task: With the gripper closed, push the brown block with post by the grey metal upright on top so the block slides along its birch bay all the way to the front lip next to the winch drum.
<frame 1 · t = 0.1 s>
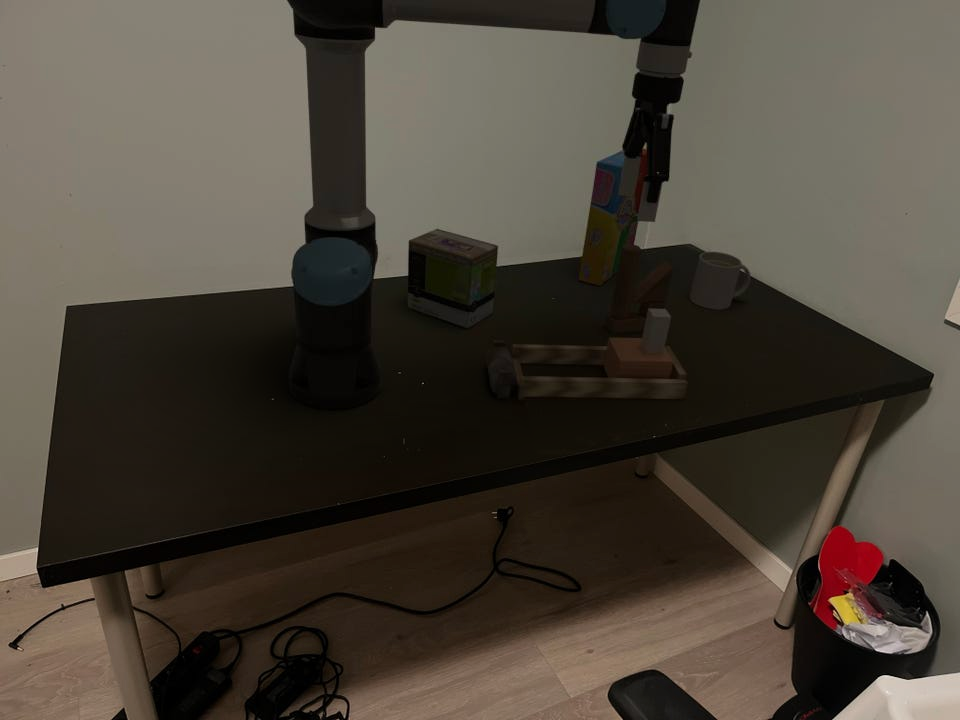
hand: (635, 207, 120), 28 cm above the table, fingers open, 13 cm apart
brown block with post: (640, 346, 121), point 7 cm above the table, slide at 0.0 cm
game box: (605, 271, 169), on the table
tea box: (450, 311, 145), on the table
mug: (714, 302, 157), on the table
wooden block: (631, 332, 142), on the table
bay: (593, 382, 124), on the table
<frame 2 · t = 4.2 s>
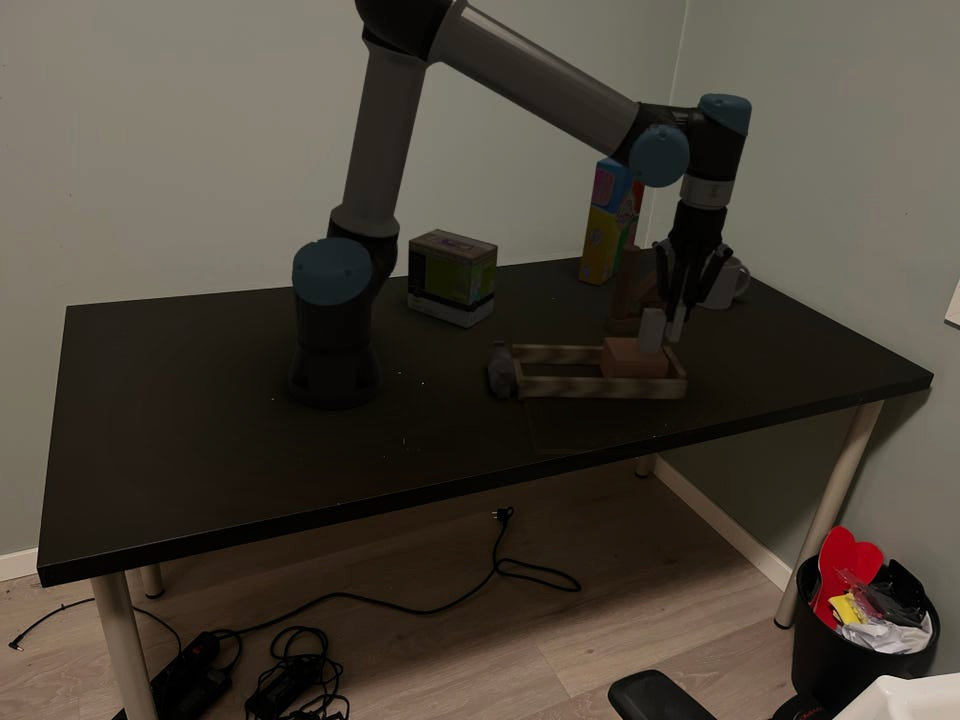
hand: (671, 338, 120), 9 cm above the table, fingers closed
brown block with post: (636, 346, 121), point 7 cm above the table, slide at 0.8 cm, touching gripper
everything else where it was.
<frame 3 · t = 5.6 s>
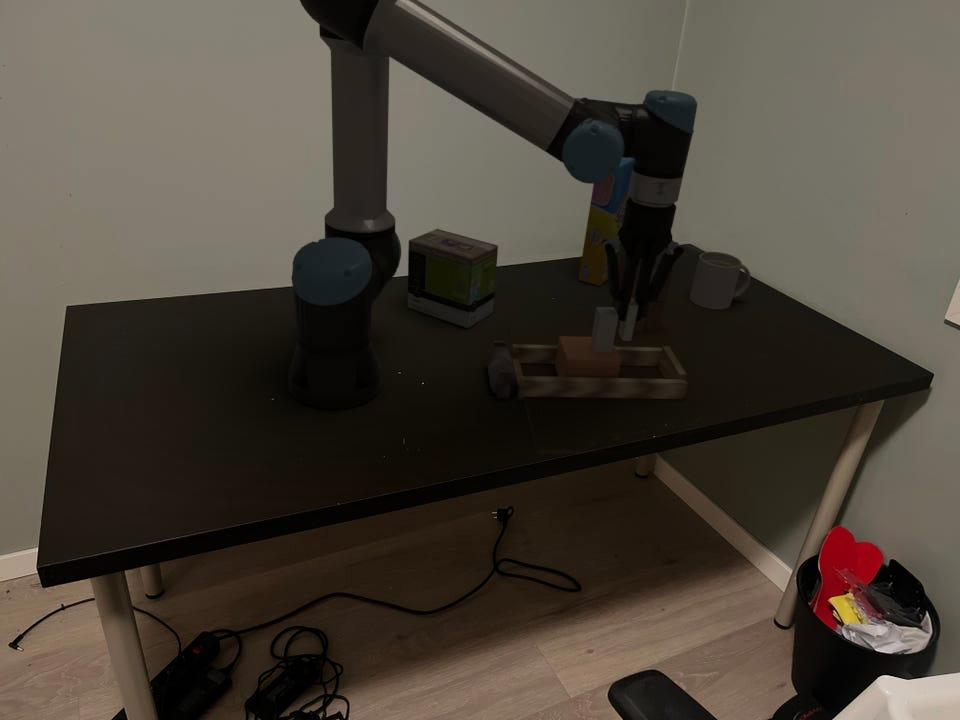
hand: (624, 336, 120), 9 cm above the table, fingers closed
brown block with post: (589, 345, 120), point 7 cm above the table, slide at 8.9 cm, touching gripper
everything else where it was.
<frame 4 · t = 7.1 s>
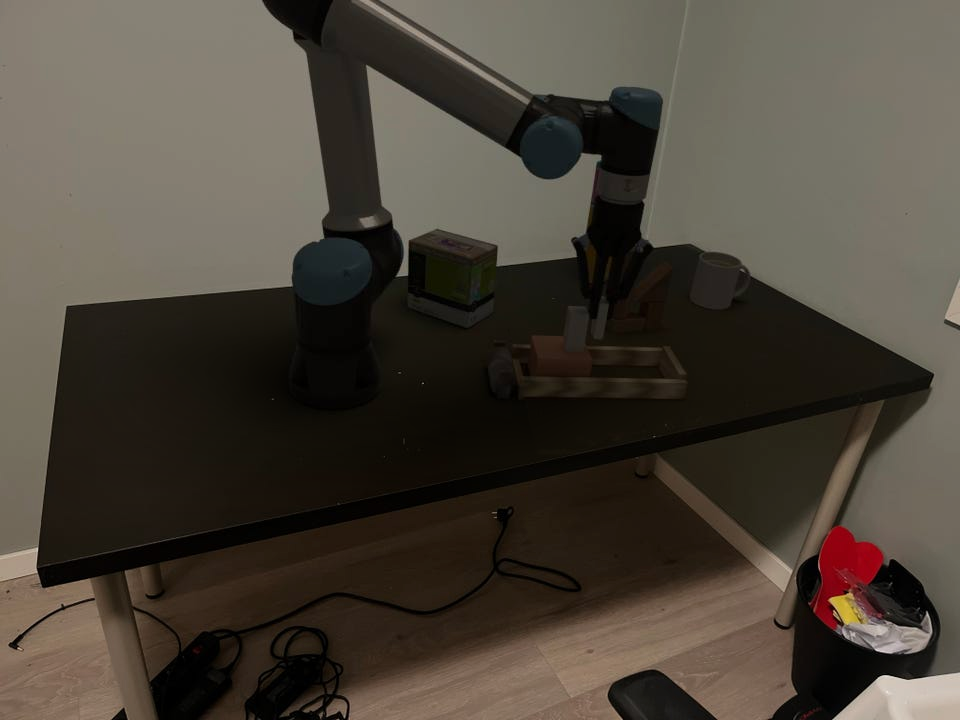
hand: (596, 335, 119), 9 cm above the table, fingers closed
brown block with post: (561, 344, 119), point 7 cm above the table, slide at 13.7 cm, touching gripper
everything else where it was.
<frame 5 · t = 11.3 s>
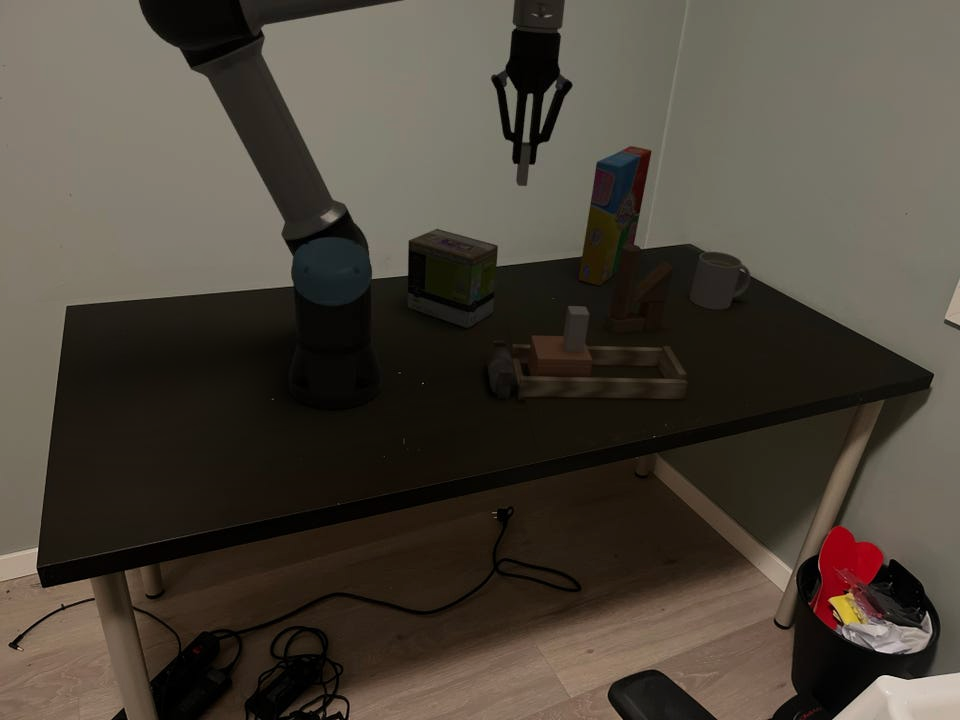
hand: (521, 183, 119), 30 cm above the table, fingers closed
brown block with post: (561, 344, 119), point 7 cm above the table, slide at 13.7 cm
everything else where it was.
at the end: brown block with post slide at 13.7 cm; brown block with post inside the target area (1.8 cm from its centre), point 7.4 cm above the table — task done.
